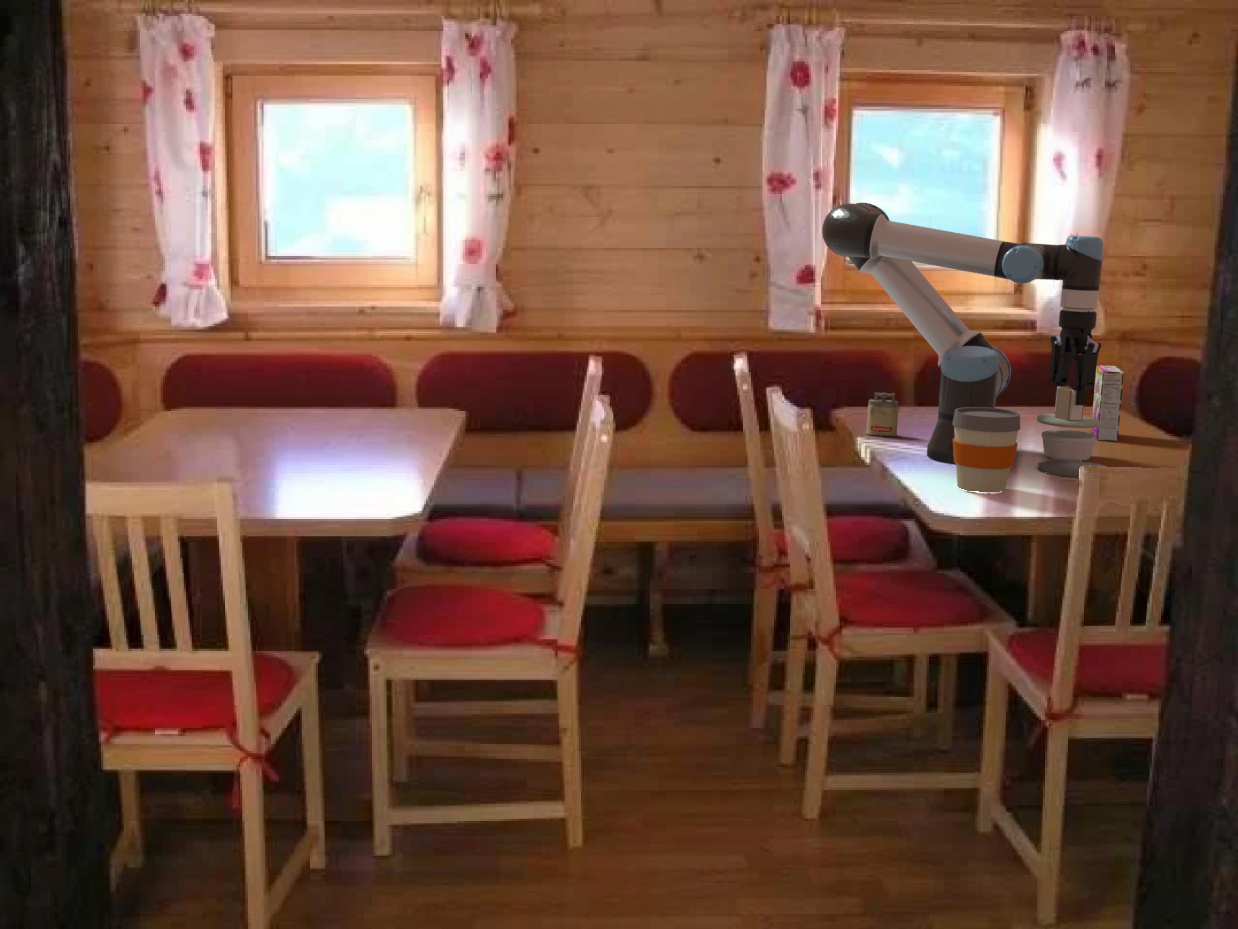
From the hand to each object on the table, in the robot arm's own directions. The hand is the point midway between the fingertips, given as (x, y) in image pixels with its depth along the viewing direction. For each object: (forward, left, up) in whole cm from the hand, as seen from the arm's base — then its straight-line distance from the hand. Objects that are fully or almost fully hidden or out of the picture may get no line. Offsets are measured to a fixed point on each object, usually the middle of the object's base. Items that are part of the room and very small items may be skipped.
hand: (1067, 417), depth 291 cm
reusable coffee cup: (-38, -22, -9) cm, 45 cm away
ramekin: (+1, 0, -9) cm, 9 cm away
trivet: (-8, -13, -9) cm, 18 cm away
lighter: (-25, +34, -9) cm, 43 cm away
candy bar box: (+26, +18, -9) cm, 33 cm away
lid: (0, 0, -1) cm, 1 cm away
